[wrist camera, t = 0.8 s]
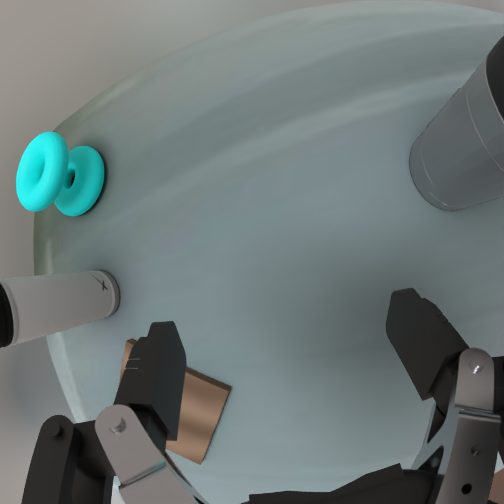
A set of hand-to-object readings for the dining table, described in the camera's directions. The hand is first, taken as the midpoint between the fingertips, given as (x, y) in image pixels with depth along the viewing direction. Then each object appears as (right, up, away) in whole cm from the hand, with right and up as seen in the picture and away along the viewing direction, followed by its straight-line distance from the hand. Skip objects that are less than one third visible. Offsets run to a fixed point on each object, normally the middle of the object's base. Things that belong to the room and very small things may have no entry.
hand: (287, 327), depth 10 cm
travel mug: (-21, -3, +25) cm, 32 cm away
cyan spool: (-25, +13, +25) cm, 38 cm away
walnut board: (-12, -17, +23) cm, 31 cm away
